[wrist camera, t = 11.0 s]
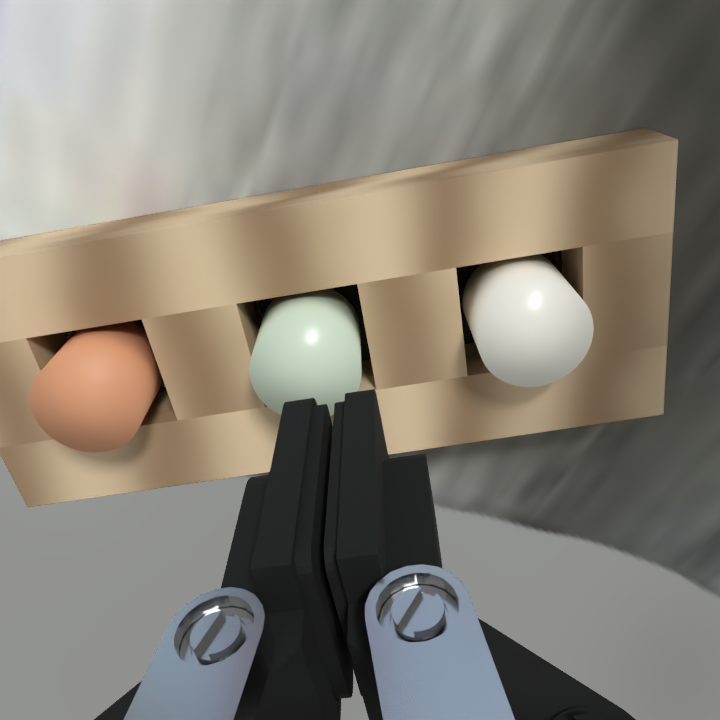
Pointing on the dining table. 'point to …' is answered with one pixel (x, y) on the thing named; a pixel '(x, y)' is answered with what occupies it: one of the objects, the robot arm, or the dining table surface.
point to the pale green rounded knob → (307, 350)
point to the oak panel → (377, 297)
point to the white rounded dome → (526, 320)
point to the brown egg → (97, 388)
